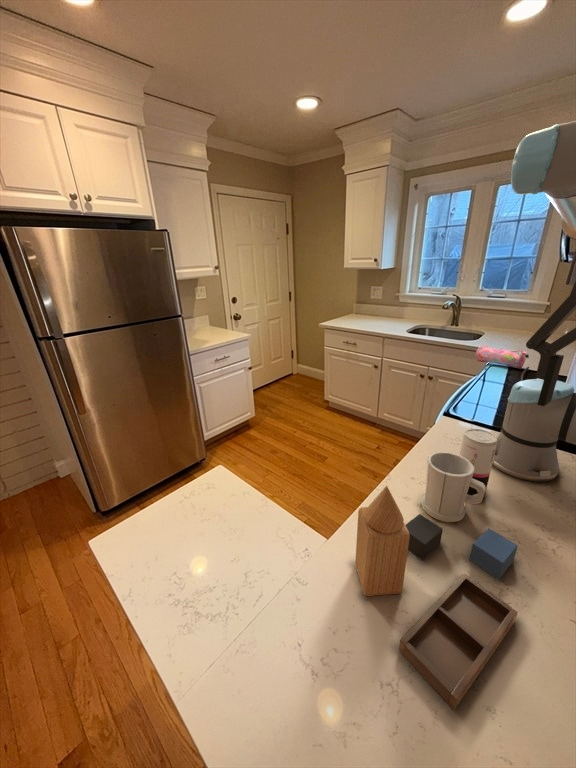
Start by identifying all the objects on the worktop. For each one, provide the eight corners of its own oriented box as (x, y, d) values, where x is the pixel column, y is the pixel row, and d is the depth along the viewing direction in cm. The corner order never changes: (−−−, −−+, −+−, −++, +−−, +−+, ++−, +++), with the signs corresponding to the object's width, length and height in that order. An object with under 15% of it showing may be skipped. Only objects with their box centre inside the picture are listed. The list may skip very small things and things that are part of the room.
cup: (459, 494, 75) (468, 450, 71) (481, 523, 67) (492, 476, 62) (414, 495, 75) (420, 451, 71) (431, 525, 67) (439, 477, 63)
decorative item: (364, 598, 53) (371, 501, 46) (354, 562, 59) (359, 473, 52) (403, 595, 53) (417, 498, 46) (389, 560, 59) (399, 470, 52)
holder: (461, 581, 55) (463, 572, 54) (515, 621, 49) (518, 611, 48) (398, 649, 46) (399, 640, 45) (454, 710, 40) (457, 700, 39)
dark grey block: (417, 528, 66) (419, 513, 65) (440, 544, 62) (443, 528, 61) (399, 543, 63) (401, 527, 62) (422, 560, 59) (424, 544, 58)
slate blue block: (484, 543, 62) (488, 527, 61) (513, 561, 58) (518, 545, 57) (468, 559, 59) (472, 543, 58) (498, 579, 55) (503, 563, 54)
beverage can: (462, 500, 73) (473, 443, 68) (448, 481, 80) (458, 428, 74) (490, 499, 73) (504, 443, 68) (475, 481, 79) (487, 428, 74)
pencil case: (527, 366, 157) (530, 348, 154) (520, 371, 152) (524, 353, 149) (480, 359, 173) (482, 342, 170) (472, 363, 168) (475, 346, 165)
